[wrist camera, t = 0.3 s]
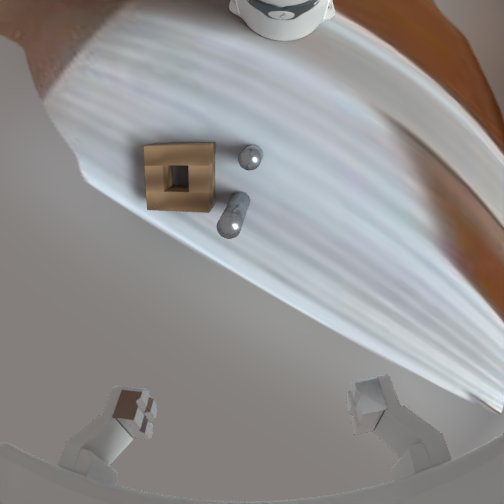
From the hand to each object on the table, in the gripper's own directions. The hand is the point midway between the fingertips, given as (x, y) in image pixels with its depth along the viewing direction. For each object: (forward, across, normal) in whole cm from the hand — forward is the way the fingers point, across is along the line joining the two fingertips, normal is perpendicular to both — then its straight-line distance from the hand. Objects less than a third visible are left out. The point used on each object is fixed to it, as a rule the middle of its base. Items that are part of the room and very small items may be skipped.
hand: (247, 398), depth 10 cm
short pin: (+47, 0, -1) cm, 47 cm away
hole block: (+48, +13, +1) cm, 49 cm away
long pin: (+46, +3, +8) cm, 47 cm away
